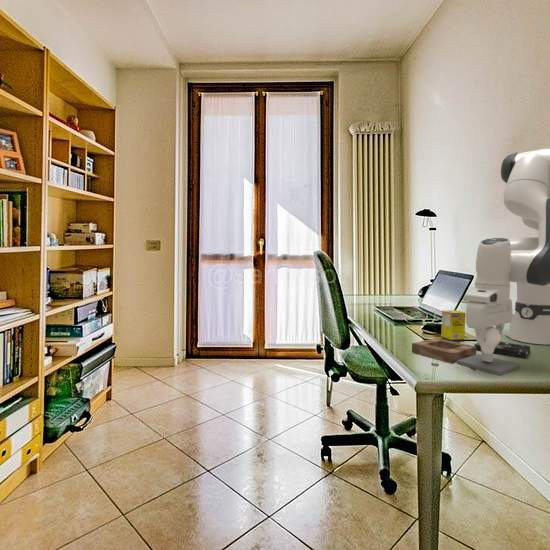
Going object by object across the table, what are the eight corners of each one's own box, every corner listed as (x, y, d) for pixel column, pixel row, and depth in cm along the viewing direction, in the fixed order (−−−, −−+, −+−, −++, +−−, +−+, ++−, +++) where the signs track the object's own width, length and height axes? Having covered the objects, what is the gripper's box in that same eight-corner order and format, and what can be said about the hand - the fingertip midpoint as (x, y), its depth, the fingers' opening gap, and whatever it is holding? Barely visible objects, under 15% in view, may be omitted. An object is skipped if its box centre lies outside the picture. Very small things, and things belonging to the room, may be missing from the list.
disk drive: (529, 354, 122) (480, 345, 131) (530, 346, 121) (480, 338, 131) (525, 361, 114) (473, 351, 124) (526, 352, 114) (473, 343, 123)
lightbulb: (488, 358, 110) (490, 323, 110) (504, 365, 104) (506, 327, 103) (469, 359, 109) (471, 323, 109) (485, 366, 103) (487, 328, 102)
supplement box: (464, 341, 135) (466, 312, 135) (450, 341, 135) (451, 312, 134) (454, 337, 141) (455, 309, 141) (440, 338, 140) (441, 310, 140)
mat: (477, 357, 116) (477, 354, 115) (519, 367, 106) (519, 364, 106) (457, 363, 109) (457, 360, 109) (499, 375, 99) (500, 371, 99)
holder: (436, 346, 128) (436, 337, 128) (476, 355, 117) (476, 346, 117) (411, 352, 121) (412, 343, 120) (452, 363, 109) (452, 353, 109)
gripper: (497, 290, 114) (495, 333, 115) (462, 294, 103) (460, 342, 104) (519, 292, 109) (517, 337, 110) (485, 297, 97) (483, 347, 98)
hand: (489, 340), depth 107 cm, fingers open, 8 cm apart
